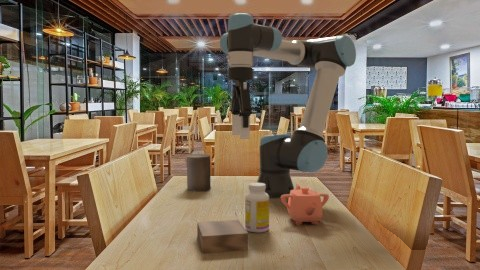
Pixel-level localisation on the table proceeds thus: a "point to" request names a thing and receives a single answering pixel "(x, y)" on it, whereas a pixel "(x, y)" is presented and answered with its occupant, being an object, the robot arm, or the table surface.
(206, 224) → the block
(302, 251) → the table surface
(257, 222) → the supplement bottle
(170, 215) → the table surface
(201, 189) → the pillar candle
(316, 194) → the teapot
